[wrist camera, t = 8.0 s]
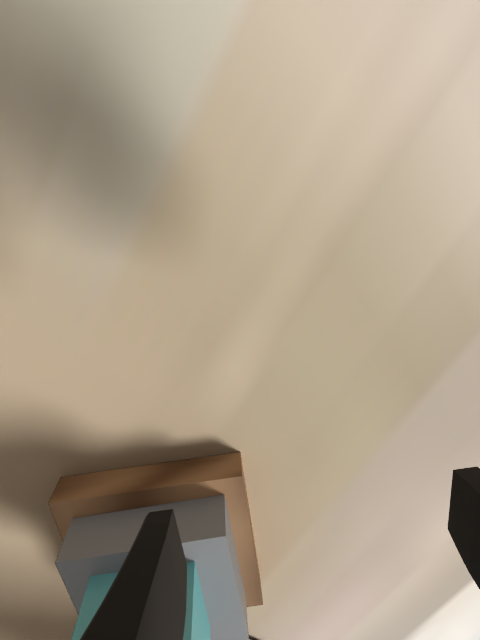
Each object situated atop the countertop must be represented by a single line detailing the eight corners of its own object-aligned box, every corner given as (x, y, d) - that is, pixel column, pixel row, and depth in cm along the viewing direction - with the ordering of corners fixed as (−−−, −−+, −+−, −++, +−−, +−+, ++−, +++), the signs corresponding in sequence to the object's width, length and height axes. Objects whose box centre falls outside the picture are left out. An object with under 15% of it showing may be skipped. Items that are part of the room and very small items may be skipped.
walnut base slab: (239, 444, 23) (242, 476, 21) (258, 565, 27) (262, 604, 25) (64, 468, 23) (47, 503, 21) (108, 587, 27) (98, 628, 24)
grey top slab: (224, 494, 21) (225, 536, 19) (245, 596, 24) (248, 642, 22) (72, 518, 21) (54, 563, 19) (112, 617, 24) (101, 665, 22)
